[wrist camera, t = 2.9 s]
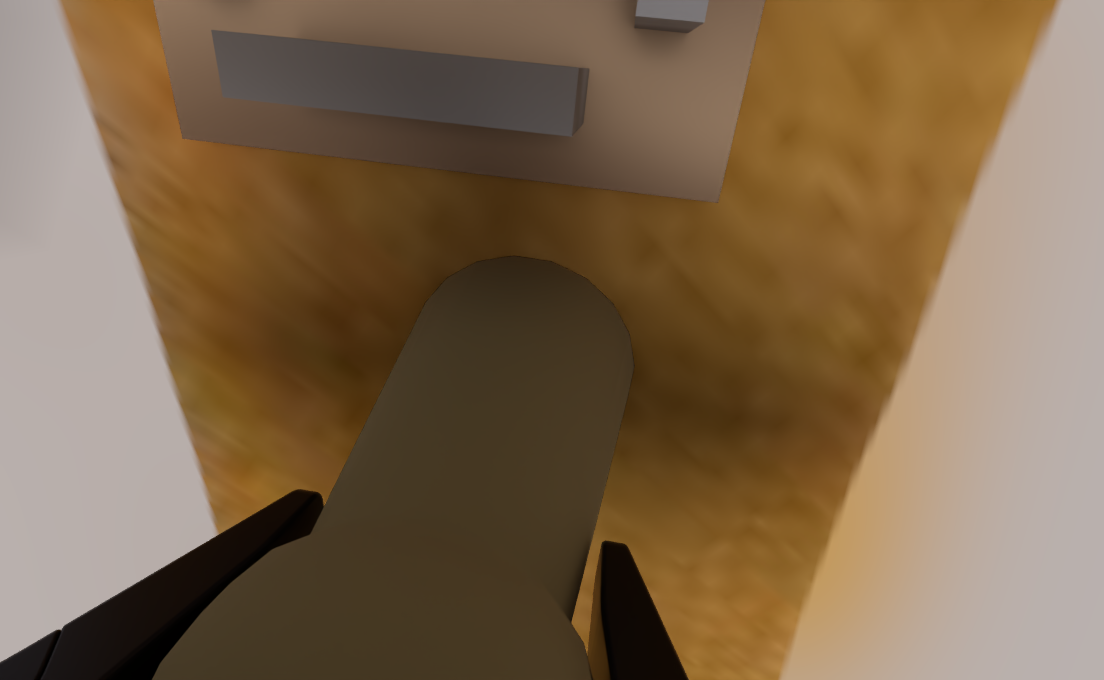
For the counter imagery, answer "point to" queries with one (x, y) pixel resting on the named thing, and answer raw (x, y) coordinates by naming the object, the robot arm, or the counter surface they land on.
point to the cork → (448, 503)
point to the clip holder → (474, 84)
